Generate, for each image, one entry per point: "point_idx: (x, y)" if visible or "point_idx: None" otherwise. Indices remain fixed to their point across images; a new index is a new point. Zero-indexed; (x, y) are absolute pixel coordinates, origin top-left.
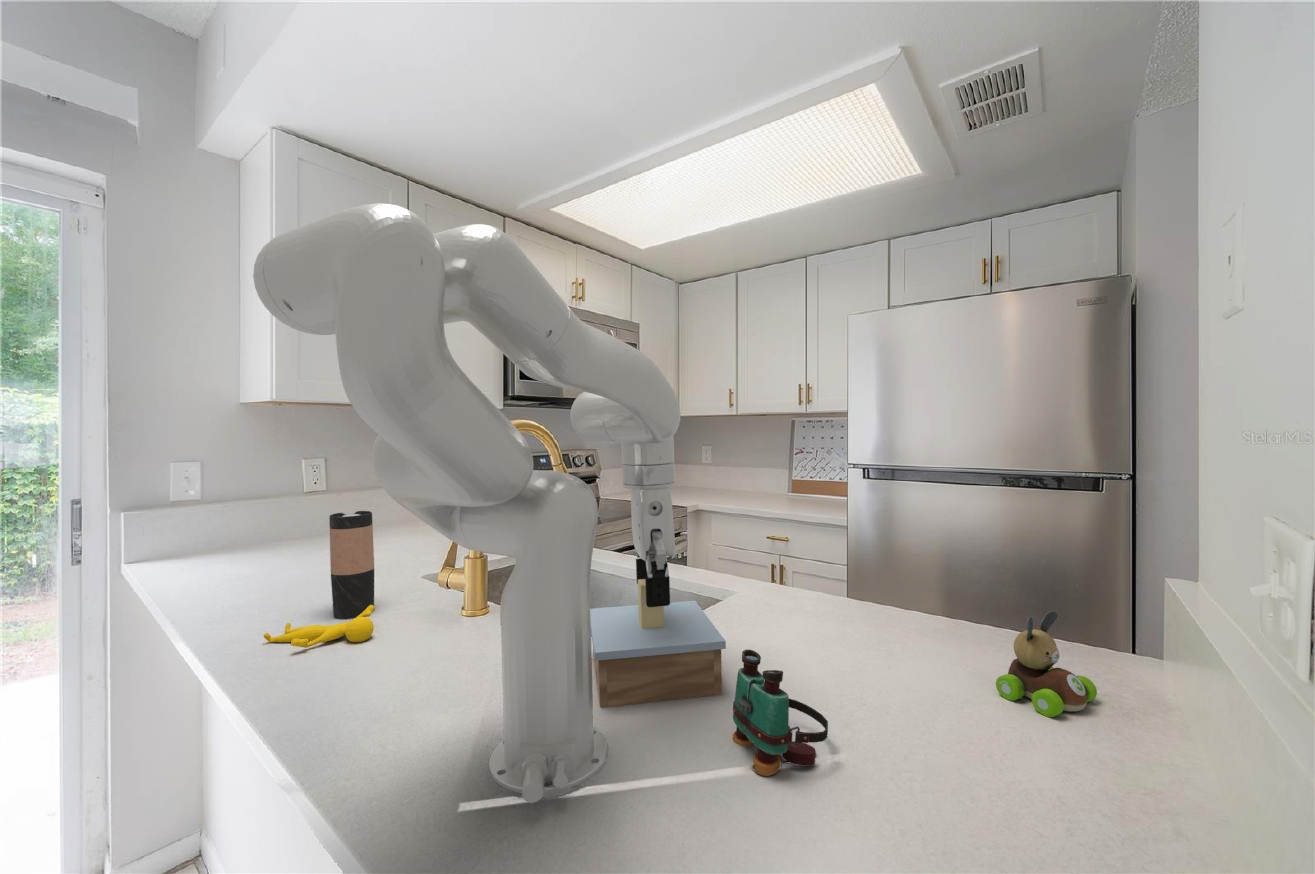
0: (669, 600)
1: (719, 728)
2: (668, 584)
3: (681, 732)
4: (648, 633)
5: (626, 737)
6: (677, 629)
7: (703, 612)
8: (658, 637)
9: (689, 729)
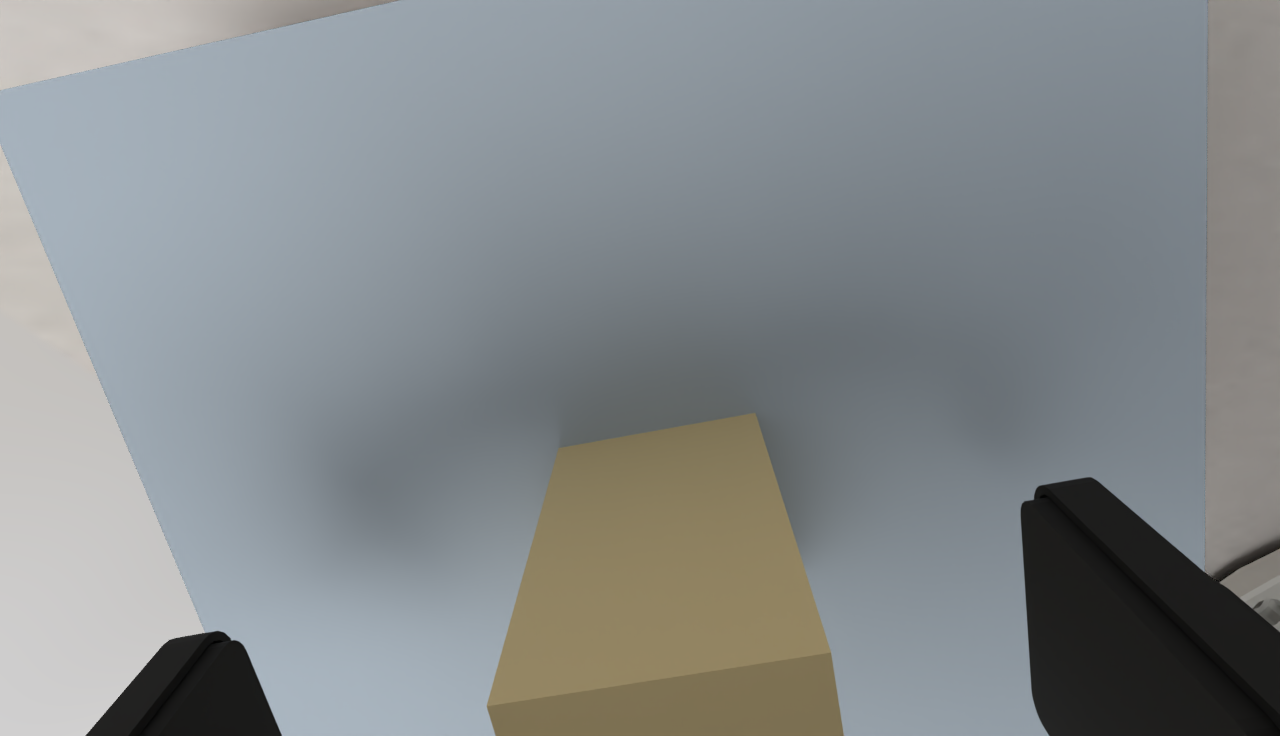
0: (1113, 501)
1: (1248, 8)
2: (1269, 643)
3: (1240, 214)
4: (903, 533)
5: (1225, 460)
6: (834, 298)
7: (364, 15)
8: (1003, 455)
9: (1222, 172)
